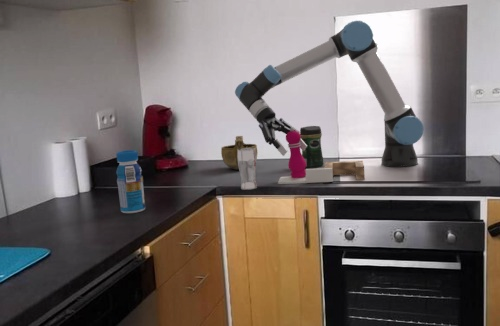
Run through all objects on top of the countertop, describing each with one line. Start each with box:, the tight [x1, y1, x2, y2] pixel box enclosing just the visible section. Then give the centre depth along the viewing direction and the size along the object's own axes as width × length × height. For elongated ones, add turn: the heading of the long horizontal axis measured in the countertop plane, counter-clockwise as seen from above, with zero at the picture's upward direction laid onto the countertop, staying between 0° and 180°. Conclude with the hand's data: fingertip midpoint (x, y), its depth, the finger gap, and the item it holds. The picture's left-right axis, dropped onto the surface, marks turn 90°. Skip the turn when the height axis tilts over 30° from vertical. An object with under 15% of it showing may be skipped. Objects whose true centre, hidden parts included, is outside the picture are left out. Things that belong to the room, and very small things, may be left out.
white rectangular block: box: [305, 167, 334, 184], centre depth 188 cm, size 10×2×5 cm, turn 80°
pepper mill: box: [285, 126, 307, 178], centre depth 197 cm, size 7×7×20 cm
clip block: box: [324, 160, 366, 181], centre depth 196 cm, size 15×14×5 cm
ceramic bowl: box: [220, 135, 258, 171], centre depth 232 cm, size 22×17×15 cm
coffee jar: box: [299, 125, 325, 169], centre depth 224 cm, size 10×8×19 cm
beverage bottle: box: [115, 149, 146, 214], centre depth 163 cm, size 8×8×20 cm
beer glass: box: [238, 148, 258, 191], centre depth 186 cm, size 7×7×15 cm
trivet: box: [277, 175, 307, 185], centre depth 195 cm, size 11×11×1 cm
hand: (295, 150), depth 192 cm, fingers open, 13 cm apart
